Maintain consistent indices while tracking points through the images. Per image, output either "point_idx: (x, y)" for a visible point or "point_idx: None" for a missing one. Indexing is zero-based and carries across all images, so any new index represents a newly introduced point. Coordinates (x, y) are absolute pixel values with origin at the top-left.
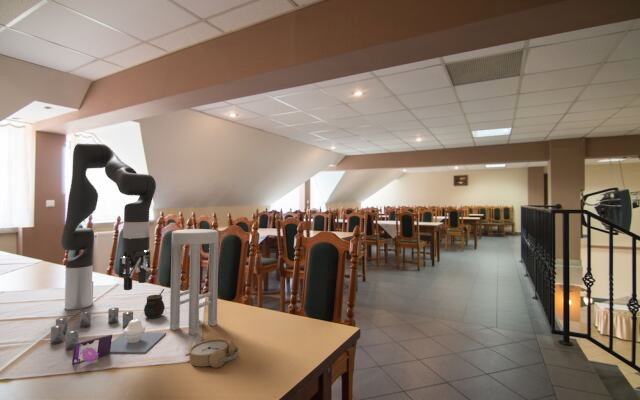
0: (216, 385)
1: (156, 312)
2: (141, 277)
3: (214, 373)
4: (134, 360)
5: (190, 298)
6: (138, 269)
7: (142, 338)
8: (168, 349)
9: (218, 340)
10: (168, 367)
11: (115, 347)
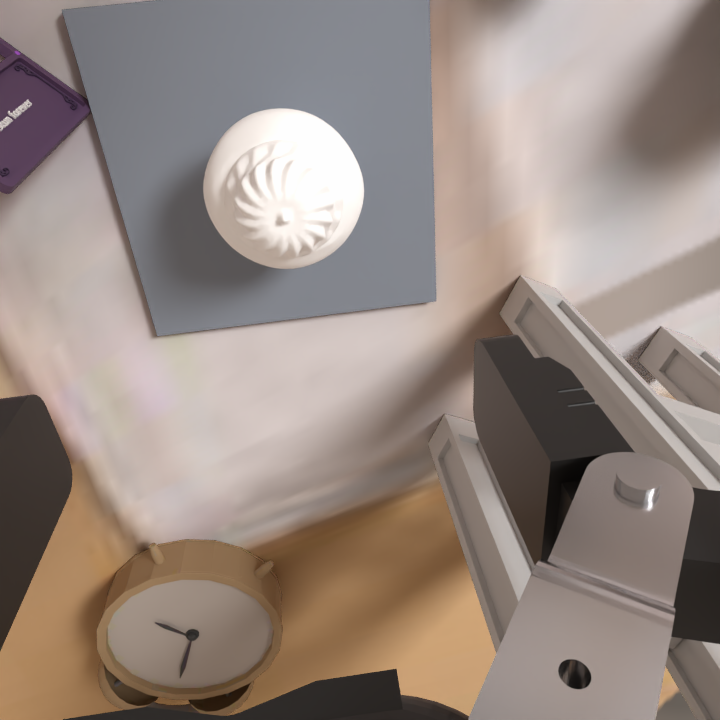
0: (15, 683)
1: None
2: (500, 434)
3: (86, 653)
4: (69, 325)
5: (513, 596)
6: (575, 500)
7: None
8: (235, 415)
9: (272, 637)
10: (66, 504)
11: (161, 104)
